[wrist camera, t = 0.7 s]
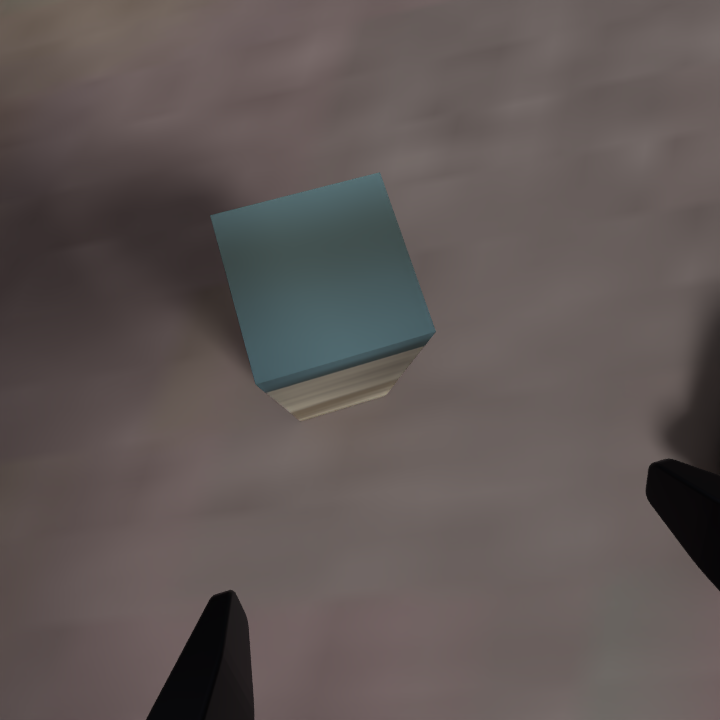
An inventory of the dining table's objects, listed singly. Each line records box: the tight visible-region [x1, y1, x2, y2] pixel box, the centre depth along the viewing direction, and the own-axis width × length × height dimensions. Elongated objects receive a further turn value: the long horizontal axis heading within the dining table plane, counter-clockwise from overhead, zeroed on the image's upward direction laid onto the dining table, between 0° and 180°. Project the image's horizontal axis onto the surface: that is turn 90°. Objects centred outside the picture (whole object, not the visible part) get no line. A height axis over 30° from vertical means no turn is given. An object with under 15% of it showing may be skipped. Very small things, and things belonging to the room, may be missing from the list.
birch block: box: [210, 173, 436, 421], centre depth 17 cm, size 4×4×12 cm
